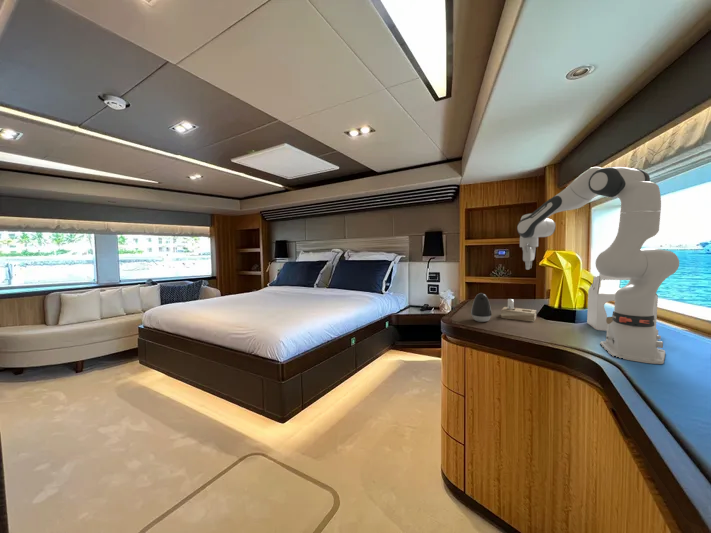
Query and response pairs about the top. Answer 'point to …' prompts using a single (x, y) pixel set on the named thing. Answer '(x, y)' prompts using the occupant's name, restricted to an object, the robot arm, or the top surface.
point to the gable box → (599, 298)
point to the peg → (510, 304)
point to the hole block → (519, 314)
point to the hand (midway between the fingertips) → (528, 269)
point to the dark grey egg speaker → (481, 308)
